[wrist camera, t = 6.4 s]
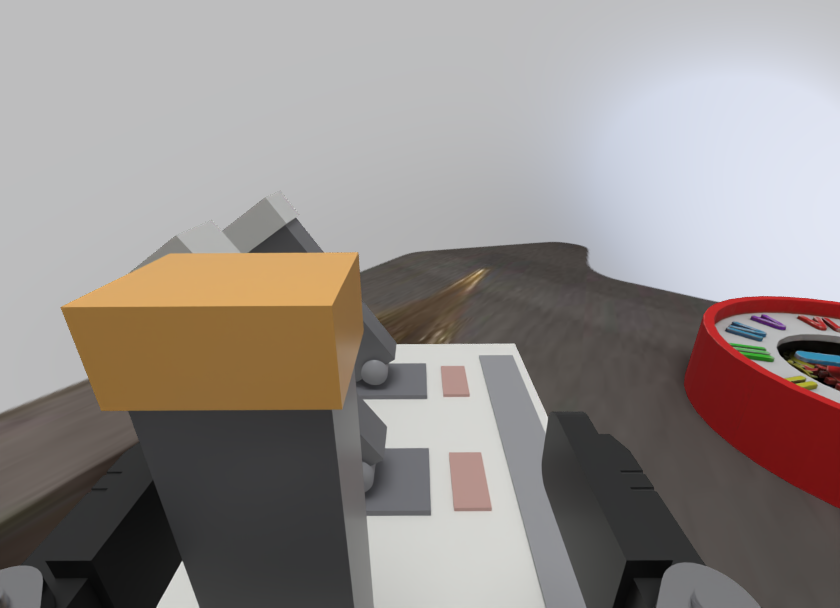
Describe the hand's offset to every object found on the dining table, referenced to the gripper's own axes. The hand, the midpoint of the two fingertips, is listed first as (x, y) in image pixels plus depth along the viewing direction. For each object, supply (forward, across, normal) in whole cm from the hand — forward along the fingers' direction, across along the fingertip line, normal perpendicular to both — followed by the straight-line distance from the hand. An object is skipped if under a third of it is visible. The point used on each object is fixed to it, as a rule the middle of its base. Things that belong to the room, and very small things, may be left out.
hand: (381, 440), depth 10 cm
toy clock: (+15, -31, +12) cm, 37 cm away
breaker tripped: (-2, +2, +6) cm, 7 cm away
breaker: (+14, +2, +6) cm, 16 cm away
